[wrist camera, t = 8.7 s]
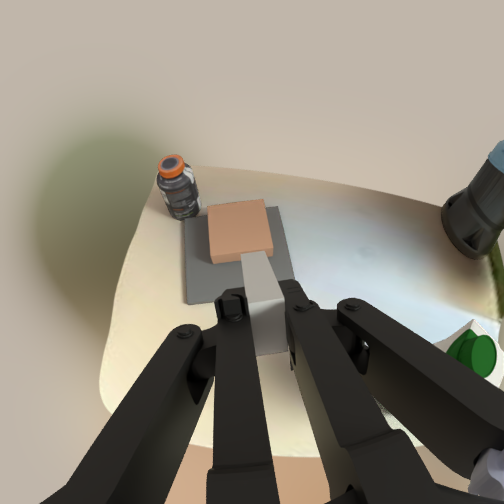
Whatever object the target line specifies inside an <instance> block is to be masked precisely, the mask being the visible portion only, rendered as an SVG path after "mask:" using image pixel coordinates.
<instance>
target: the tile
mask: <svg viewBox="0 0 504 504" xmlns="http://www.w3.org/2000/svg"><path fill="white" fill-rule="evenodd" d="M207 211H208V227H209V242H210V256H211V259H212V262H213V264H217V263H225V262H233V261H240V260H241V254H245V253H252V252H259V251H265V253H266V255H267V257H270V256H273V243H272V238H271V233H270V228H269V223H268V219H267V214H266V209H265V204H264V200H263V199H259V200H250V201H242V202H234V203H227V204H219V205H212V206H207Z"/></svg>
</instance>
